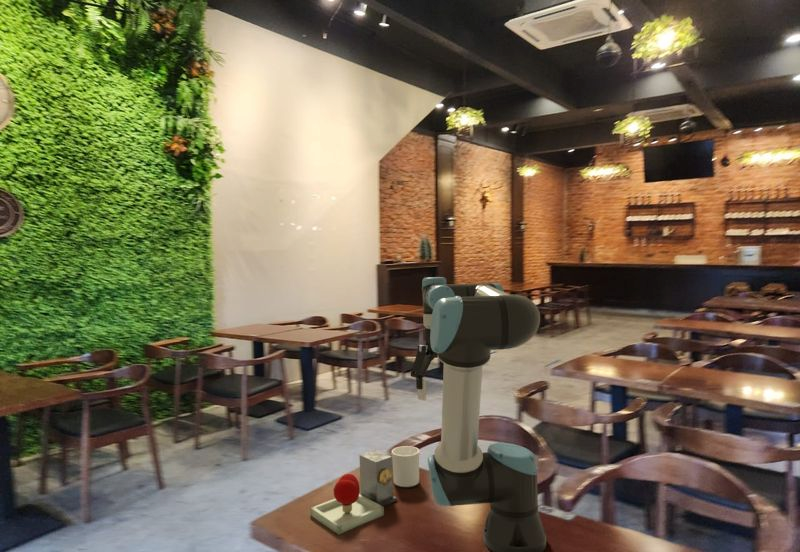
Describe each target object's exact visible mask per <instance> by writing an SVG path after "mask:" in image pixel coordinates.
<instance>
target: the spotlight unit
mask: <svg viewBox="0 0 800 552" xmlns="http://www.w3.org/2000/svg"><path fill="white" fill-rule="evenodd" d="M359 478H360V481H359V482H360V483H359V486H360V492H359V494H361V495H362V496H364V497H366V498H368V499H370V500H372V501H373V502H375V503H377V504H379V505H381V506H382V507H384V508H385V507H386V506H388V505H390V504H391V505H392V504H393V503H395V502H397V501H398V498H397V497H396V496H395V495H394V476H393V460H392V455H389V454H387V453H384V452H382V451H379V450H377V449H374V450H370V451H367V452H363V453H361V454H359Z"/></svg>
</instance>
